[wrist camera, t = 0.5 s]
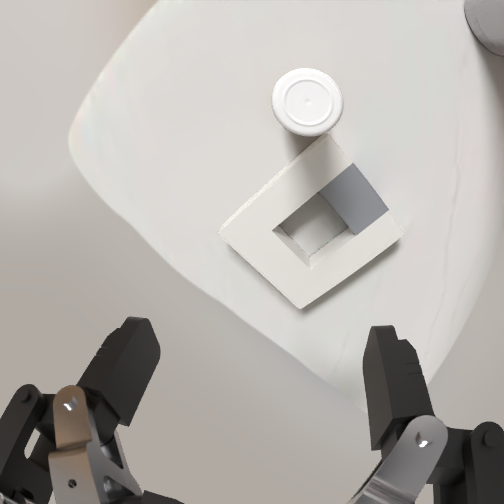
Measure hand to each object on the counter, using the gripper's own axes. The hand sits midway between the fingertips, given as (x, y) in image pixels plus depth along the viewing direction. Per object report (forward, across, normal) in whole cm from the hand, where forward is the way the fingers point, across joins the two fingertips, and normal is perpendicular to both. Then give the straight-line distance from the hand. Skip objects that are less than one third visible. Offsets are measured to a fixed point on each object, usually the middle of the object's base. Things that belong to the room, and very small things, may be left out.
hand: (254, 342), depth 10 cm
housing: (+25, -3, +6) cm, 26 cm away
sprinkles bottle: (+25, -2, -7) cm, 26 cm away
